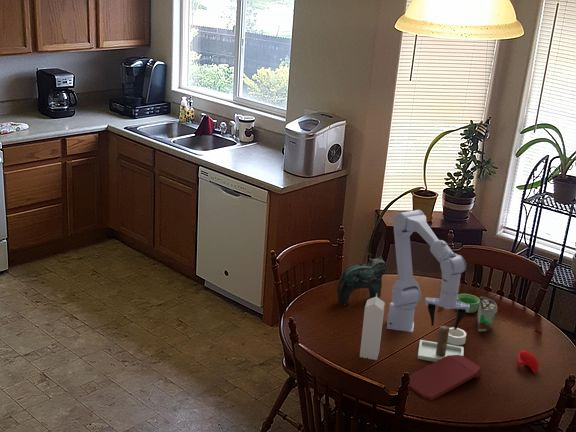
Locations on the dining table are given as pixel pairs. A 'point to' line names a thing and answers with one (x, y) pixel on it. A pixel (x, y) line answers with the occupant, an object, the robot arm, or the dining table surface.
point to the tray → (429, 351)
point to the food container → (485, 314)
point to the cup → (456, 336)
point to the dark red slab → (443, 376)
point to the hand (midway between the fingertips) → (443, 326)
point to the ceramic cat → (361, 279)
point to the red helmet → (527, 360)
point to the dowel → (442, 341)
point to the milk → (372, 328)
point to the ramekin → (469, 301)
